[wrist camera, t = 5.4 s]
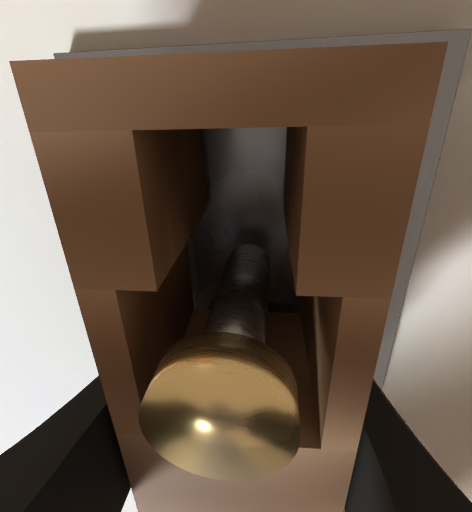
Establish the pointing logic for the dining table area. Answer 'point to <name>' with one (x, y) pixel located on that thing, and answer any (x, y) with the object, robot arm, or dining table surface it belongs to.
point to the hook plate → (258, 286)
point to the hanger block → (194, 207)
